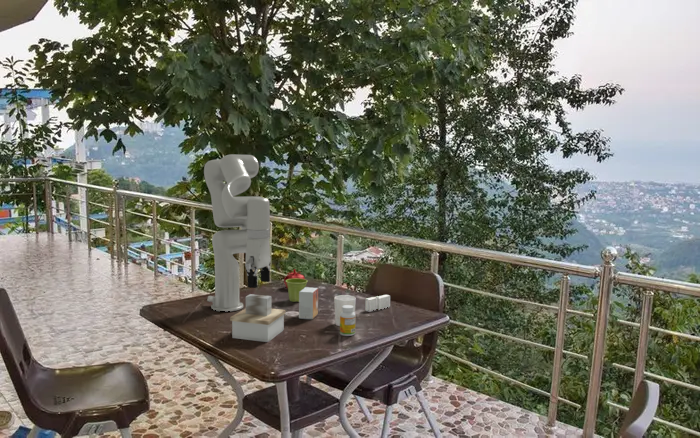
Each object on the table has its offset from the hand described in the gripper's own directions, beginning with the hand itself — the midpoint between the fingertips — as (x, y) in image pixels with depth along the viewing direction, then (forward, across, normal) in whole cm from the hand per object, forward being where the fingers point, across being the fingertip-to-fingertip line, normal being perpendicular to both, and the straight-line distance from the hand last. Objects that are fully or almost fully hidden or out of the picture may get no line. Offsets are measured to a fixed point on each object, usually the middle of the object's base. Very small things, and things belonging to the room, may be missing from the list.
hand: (259, 284), depth 173 cm
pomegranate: (+16, -66, -14) cm, 69 cm away
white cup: (+18, -21, +24) cm, 37 cm away
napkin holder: (+18, -45, +31) cm, 57 cm away
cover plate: (+11, -1, -1) cm, 11 cm away
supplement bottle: (+18, -11, +28) cm, 35 cm away
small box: (+17, -26, +8) cm, 32 cm away
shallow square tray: (+17, -1, -1) cm, 17 cm away
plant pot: (+17, -46, -5) cm, 49 cm away
